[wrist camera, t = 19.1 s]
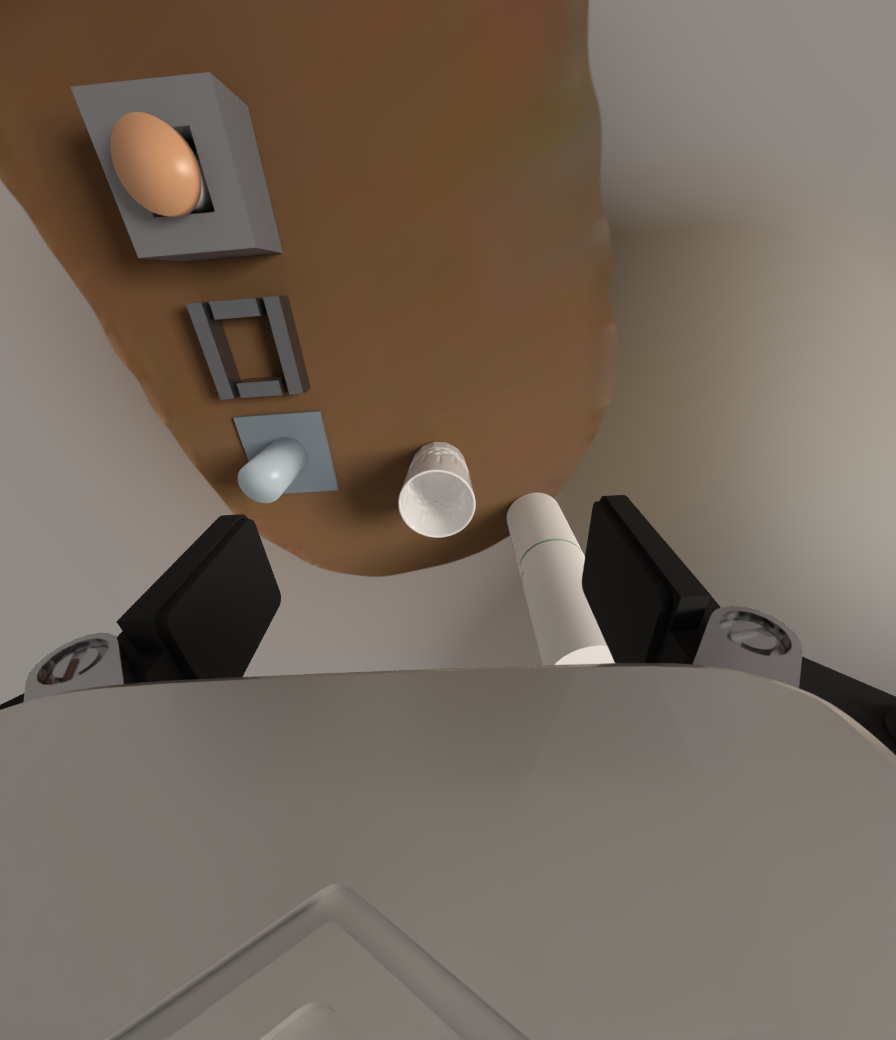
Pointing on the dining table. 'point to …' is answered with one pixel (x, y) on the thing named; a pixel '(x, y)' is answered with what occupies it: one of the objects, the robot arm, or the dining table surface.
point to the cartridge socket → (221, 356)
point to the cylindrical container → (554, 583)
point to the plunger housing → (223, 156)
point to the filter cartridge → (272, 470)
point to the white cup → (437, 492)
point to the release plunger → (158, 166)
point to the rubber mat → (303, 429)
